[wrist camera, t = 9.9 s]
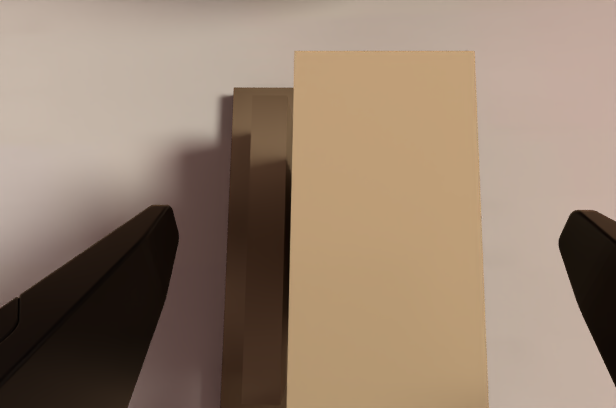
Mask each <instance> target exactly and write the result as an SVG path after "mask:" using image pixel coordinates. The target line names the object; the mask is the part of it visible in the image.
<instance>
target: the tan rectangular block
mask: <svg viewBox="0 0 616 408" xmlns="http://www.w3.org/2000/svg"><path fill="white" fill-rule="evenodd" d="M287 408H489V403H488V378H487V353H486V328H485V303H484V278H483V253H482V228H481V203H480V177H479V152H478V127H477V102H476V77H475V52H474V51H295V55H294V100H293V145H292V190H291V234H290V279H289V324H288V369H287Z"/></svg>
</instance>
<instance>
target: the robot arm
mask: <svg viewBox="0 0 616 408" xmlns="http://www.w3.org/2000/svg"><path fill="white" fill-rule="evenodd" d="M178 242H179V233H178V229H177V225H176V221H175V217H174V213H173V210H172V208H171V207H170V206H169V205H151V206H150V207H148V208H147V209H145V210H144V211H142V212H141V213H139V214H138V215H136V216H135V217H133V218H132V219H131V220H129V221H128V222H126V223H125V224H123V225H122V226H120V227H119V228H117V229H116V230H114V231H113V232H111V233H110V234H109V235H107V236H106V237H104V238H103V239H101V240H100V241H98V242H97V243H95V244H94V245H92V246H91V247H89V248H88V249H87V250H85V251H84V252H82V253H81V254H79V255H78V256H76V257H75V258H73V259H72V260H70V261H69V262H67V263H66V264H65V265H63V266H62V267H60V268H59V269H57V270H56V271H54V272H53V273H51V274H50V275H48V276H47V277H45V278H44V279H42V280H41V281H40V282H38V283H37V284H35V285H34V286H32V287H31V288H29V289H28V290H26V291H25V292H23V293H22V294H21V295H20V296H19V298H18V297H16V298H14V299H13V300H12V301H10V302H9V303H7V304H6V305H4V306H3V307H1V308H0V408H128V405H129V402H130V399H131V396H132V393H133V391H134V388H135V385H136V382H137V379H138V376H139V374H140V371H141V368H142V365H143V362H144V359H145V357H146V354H147V351H148V348H149V345H150V343H151V340H152V337H153V334H154V331H155V328H156V326H157V323H158V320H159V317H160V314H161V311H162V309H163V305H164V302H165V299H166V295H167V291H168V287H169V283H170V278H171V274H172V269H173V264H174V260H175V255H176V251H177V246H178ZM559 250H560V253H561V256H562V259H563V262H564V265H565V268H566V271H567V274H568V277H569V280H570V283H571V286H572V289H573V292H574V295H575V298H576V301H577V303H578V306H579V308H580V311H581V313H582V315H583V318H584V320H585V322H586V324H587V326H588V328H589V331H590V333H591V335H592V337H593V339H594V341H595V343H596V346H597V348H598V350H599V352H600V354H601V356H602V359H603V361H604V363H605V365H606V367H607V369H608V371H609V374H610V376H611V378H612V380H613V382H614V384H615V387H616V221H614V220H612V219H610V218H608V217H606V216H604V215H602V214H601V213H599V212H597V211H594V210H575V211H573V212H572V213H571V214H570V216H569V218H568V220H567V222H566V224H565V227H564V229H563V231H562V233H561V235H560V238H559Z"/></svg>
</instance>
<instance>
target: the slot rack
mask: <svg viewBox="0 0 616 408" xmlns="http://www.w3.org/2000/svg"><path fill="white" fill-rule="evenodd" d="M293 100H294V88H234V95H233V119H232V143H231V167H230V190H229V214H228V238H227V262H226V286H225V310H224V333H223V357H222V381H221V405H220V408H287V369H288V324H289V279H290V234H291V190H292V145H293Z"/></svg>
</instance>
